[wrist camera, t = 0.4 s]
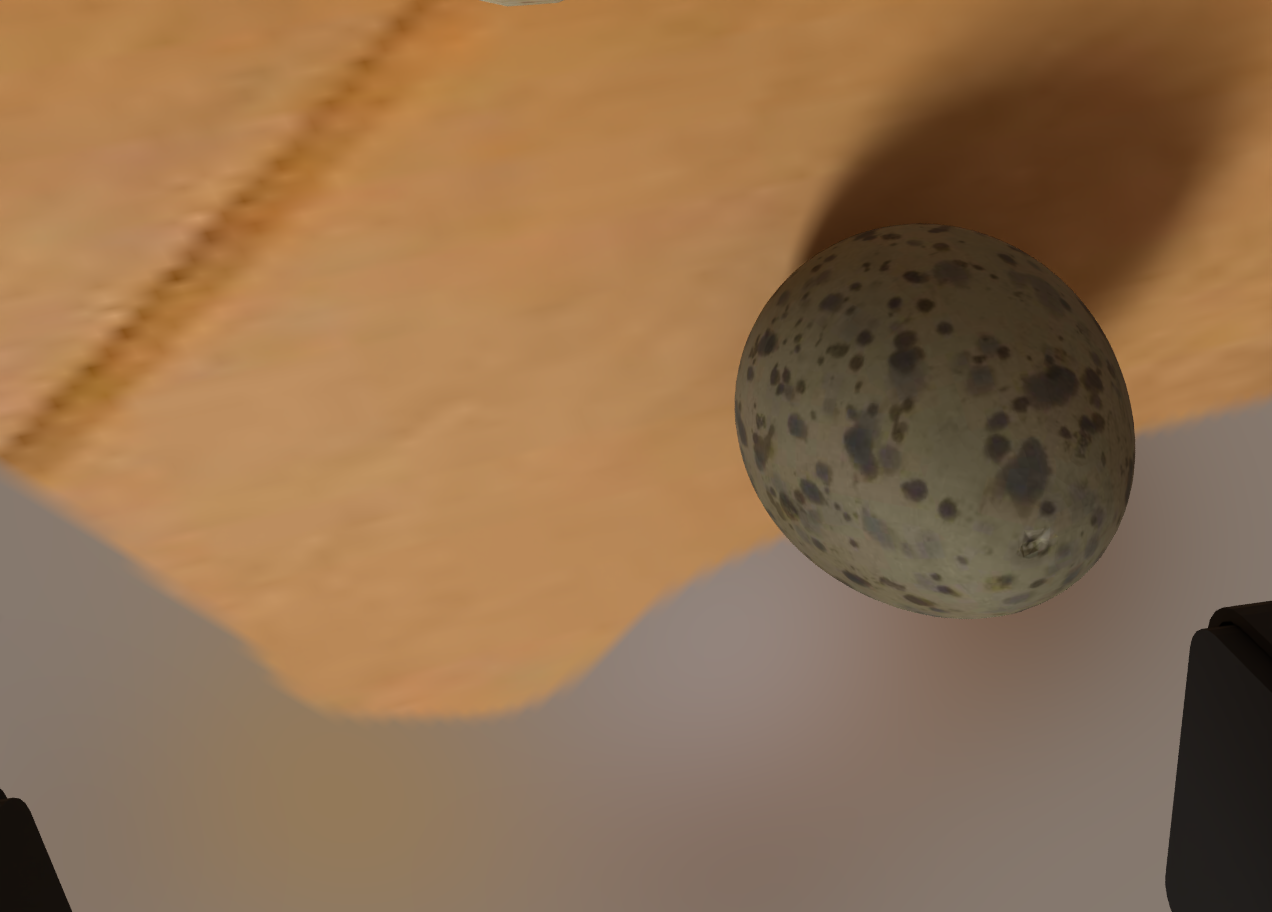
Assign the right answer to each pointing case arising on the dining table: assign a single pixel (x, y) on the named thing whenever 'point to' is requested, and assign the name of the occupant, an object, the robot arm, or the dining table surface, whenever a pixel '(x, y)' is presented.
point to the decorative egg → (936, 422)
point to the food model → (521, 2)
